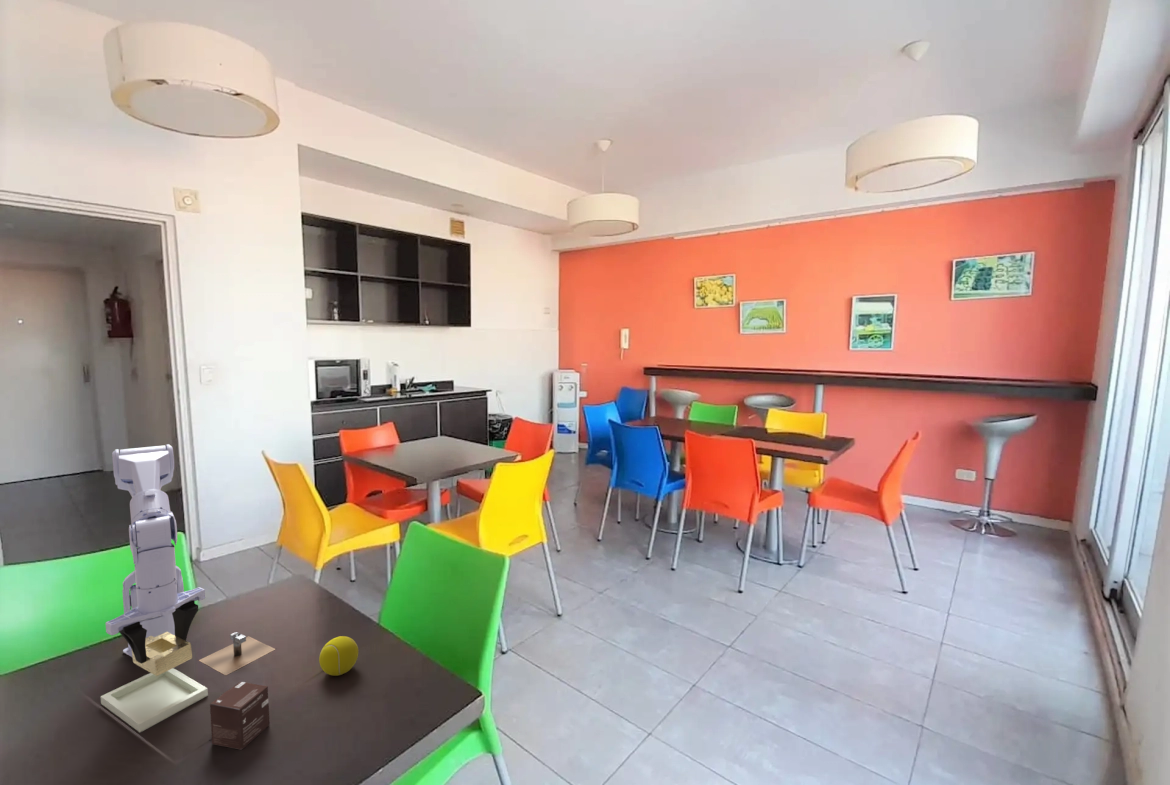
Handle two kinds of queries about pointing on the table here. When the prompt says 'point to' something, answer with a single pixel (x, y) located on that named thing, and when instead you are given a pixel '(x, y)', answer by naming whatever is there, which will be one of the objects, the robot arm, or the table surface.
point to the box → (239, 715)
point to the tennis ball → (338, 655)
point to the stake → (237, 642)
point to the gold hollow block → (164, 653)
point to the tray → (153, 698)
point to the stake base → (229, 663)
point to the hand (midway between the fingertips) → (161, 651)
